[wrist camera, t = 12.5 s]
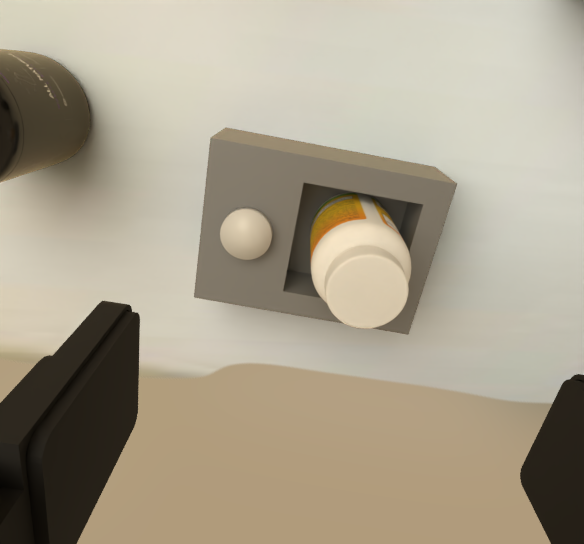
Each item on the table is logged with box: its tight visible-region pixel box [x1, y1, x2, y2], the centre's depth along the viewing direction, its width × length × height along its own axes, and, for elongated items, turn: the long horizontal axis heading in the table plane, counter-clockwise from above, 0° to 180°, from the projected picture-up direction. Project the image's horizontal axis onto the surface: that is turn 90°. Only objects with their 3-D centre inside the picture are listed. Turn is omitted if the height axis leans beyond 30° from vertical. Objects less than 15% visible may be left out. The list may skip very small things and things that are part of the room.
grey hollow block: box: [194, 128, 457, 334], centre depth 30 cm, size 14×10×6 cm
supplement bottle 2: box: [310, 192, 411, 329], centre depth 27 cm, size 5×5×10 cm
